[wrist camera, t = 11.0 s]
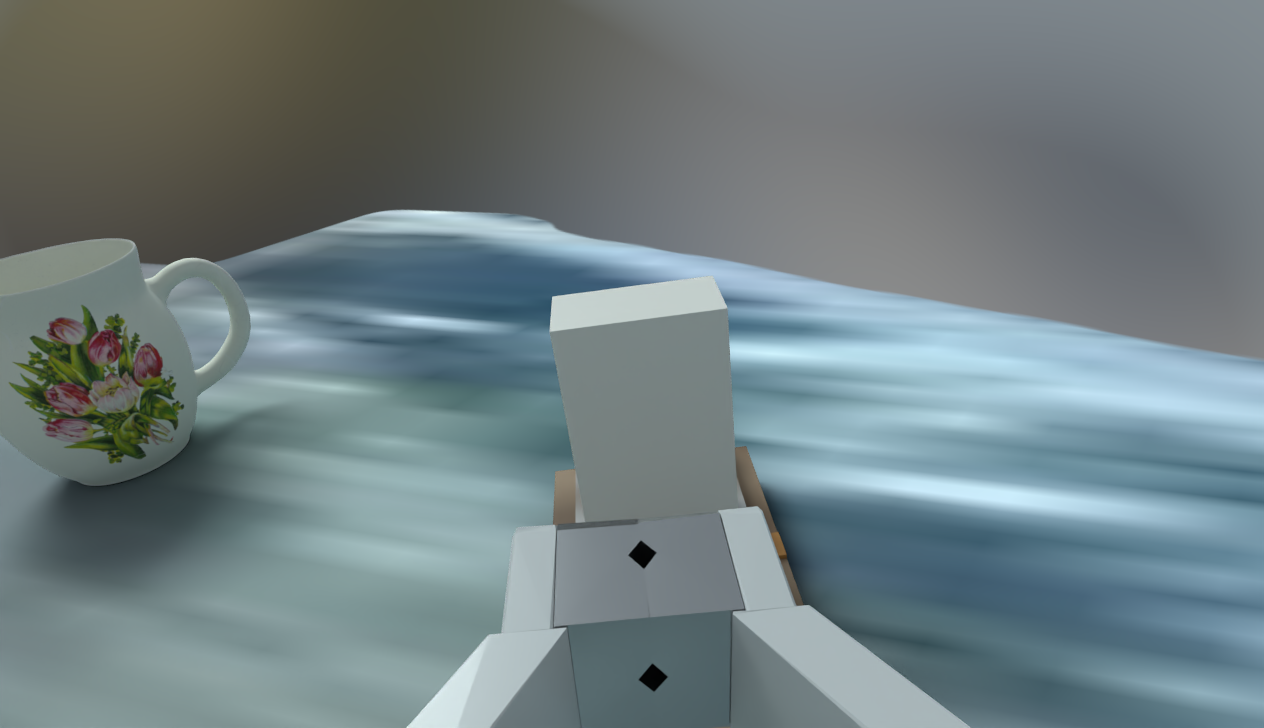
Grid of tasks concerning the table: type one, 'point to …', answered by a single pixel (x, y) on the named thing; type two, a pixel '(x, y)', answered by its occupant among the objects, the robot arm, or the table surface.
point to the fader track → (747, 493)
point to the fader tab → (648, 398)
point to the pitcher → (103, 359)
